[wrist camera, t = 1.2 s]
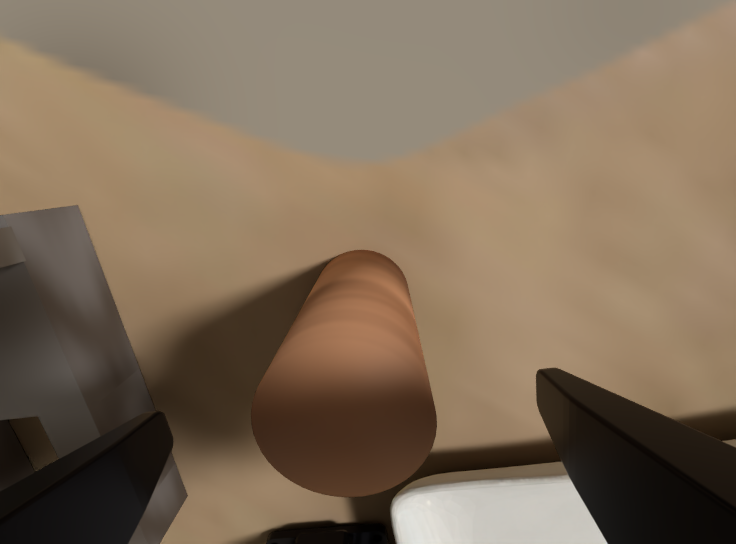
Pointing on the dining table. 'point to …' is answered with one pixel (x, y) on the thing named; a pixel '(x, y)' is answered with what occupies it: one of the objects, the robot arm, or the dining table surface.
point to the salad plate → (495, 508)
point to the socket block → (67, 352)
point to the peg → (348, 384)
